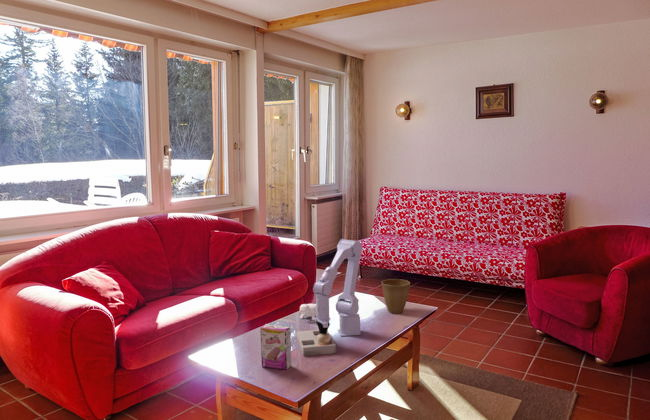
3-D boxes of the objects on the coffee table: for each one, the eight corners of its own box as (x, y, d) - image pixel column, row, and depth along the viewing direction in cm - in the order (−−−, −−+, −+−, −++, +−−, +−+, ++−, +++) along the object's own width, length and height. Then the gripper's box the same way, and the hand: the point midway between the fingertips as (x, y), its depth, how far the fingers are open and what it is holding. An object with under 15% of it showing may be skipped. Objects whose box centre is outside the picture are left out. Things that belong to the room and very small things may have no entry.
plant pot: (412, 315, 262) (412, 285, 260) (383, 316, 262) (383, 286, 260) (407, 307, 277) (407, 278, 275) (380, 307, 277) (380, 278, 275)
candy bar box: (261, 367, 203) (259, 327, 201) (266, 362, 208) (265, 323, 206) (287, 370, 200) (285, 330, 198) (291, 365, 204) (290, 326, 202)
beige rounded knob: (330, 340, 225) (329, 333, 224) (330, 345, 219) (330, 337, 219) (317, 341, 225) (317, 333, 224) (318, 345, 219) (318, 338, 219)
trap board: (325, 333, 240) (325, 326, 239) (336, 352, 216) (336, 345, 216) (296, 335, 237) (296, 328, 237) (303, 355, 214) (303, 347, 213)
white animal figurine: (307, 319, 268) (293, 317, 255) (309, 303, 270) (296, 300, 257) (321, 322, 265) (308, 319, 252) (324, 305, 266) (311, 302, 253)
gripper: (311, 304, 231) (311, 333, 232) (316, 314, 217) (316, 344, 218) (326, 302, 232) (327, 331, 234) (332, 312, 218) (333, 343, 219)
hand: (323, 337), depth 226 cm, fingers closed
